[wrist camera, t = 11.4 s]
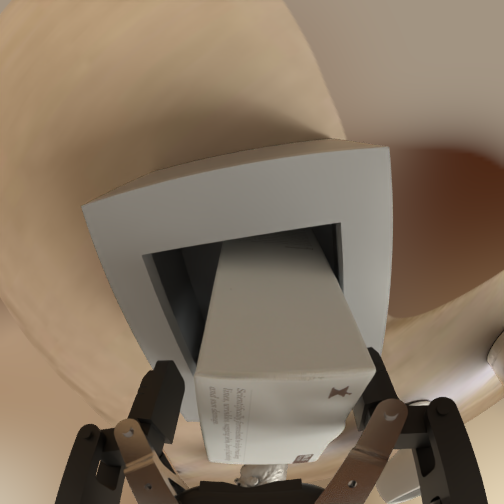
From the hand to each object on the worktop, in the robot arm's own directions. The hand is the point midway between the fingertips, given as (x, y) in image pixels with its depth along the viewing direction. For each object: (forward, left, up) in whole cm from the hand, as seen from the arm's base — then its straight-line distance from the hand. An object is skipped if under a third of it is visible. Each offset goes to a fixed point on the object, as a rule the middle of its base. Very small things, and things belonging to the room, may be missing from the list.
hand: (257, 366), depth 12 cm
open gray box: (0, 0, -12) cm, 12 cm away
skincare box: (0, 0, -11) cm, 11 cm away
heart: (+5, +38, -12) cm, 40 cm away
